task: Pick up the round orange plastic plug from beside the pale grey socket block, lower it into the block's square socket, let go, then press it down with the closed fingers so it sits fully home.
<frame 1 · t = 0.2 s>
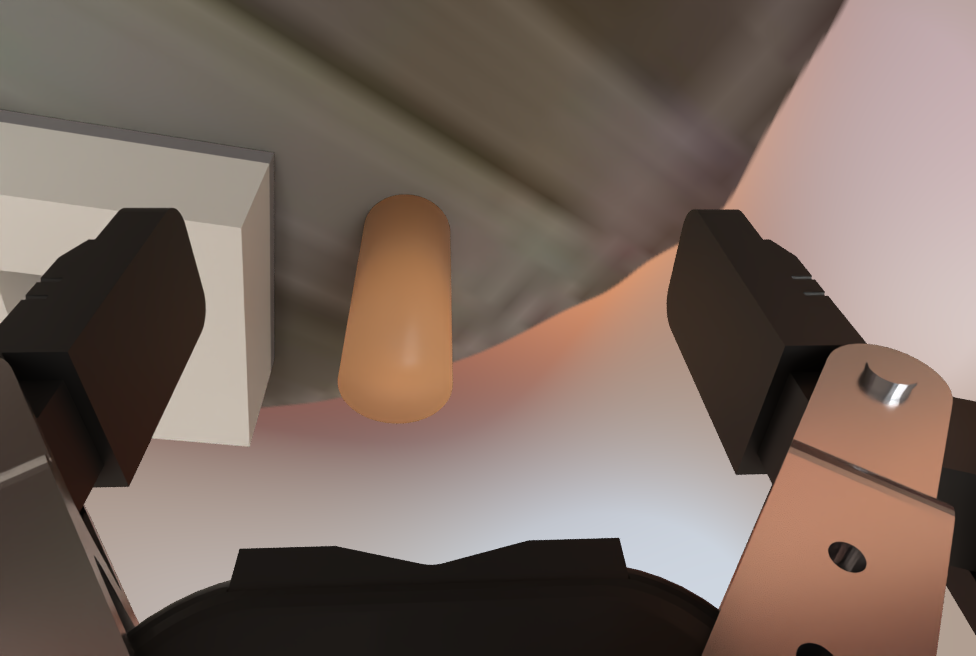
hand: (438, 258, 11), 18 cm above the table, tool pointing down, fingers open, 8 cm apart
socket block: (140, 250, 31), on the table
plug: (407, 232, 31), on the table
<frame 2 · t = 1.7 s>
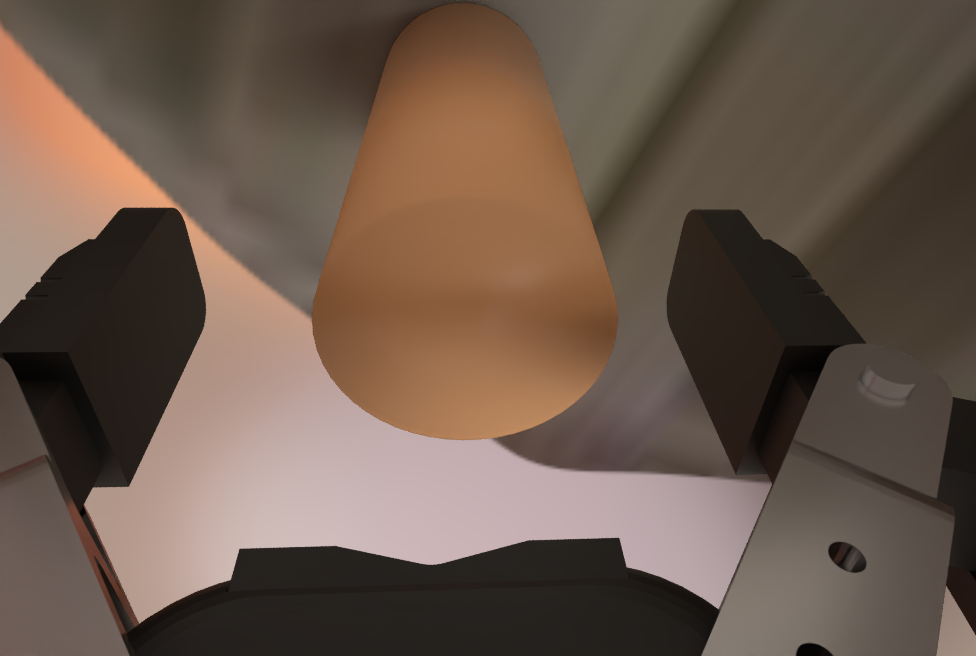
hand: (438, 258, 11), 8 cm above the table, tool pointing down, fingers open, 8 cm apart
plug: (463, 89, 17), on the table
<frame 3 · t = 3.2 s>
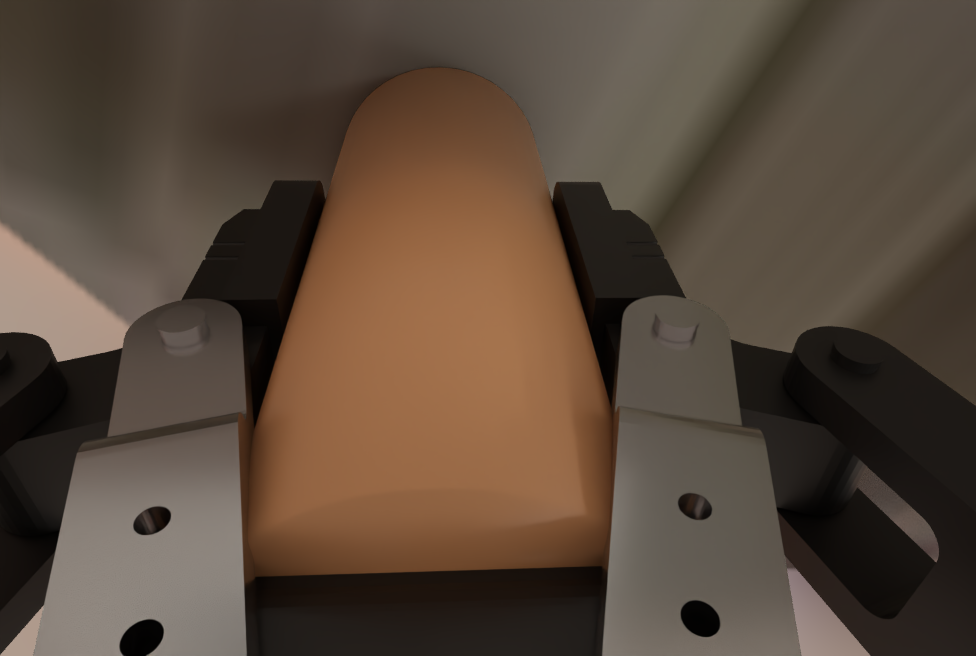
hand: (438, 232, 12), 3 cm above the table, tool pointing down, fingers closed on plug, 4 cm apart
plug: (441, 166, 14), on the table, touching gripper
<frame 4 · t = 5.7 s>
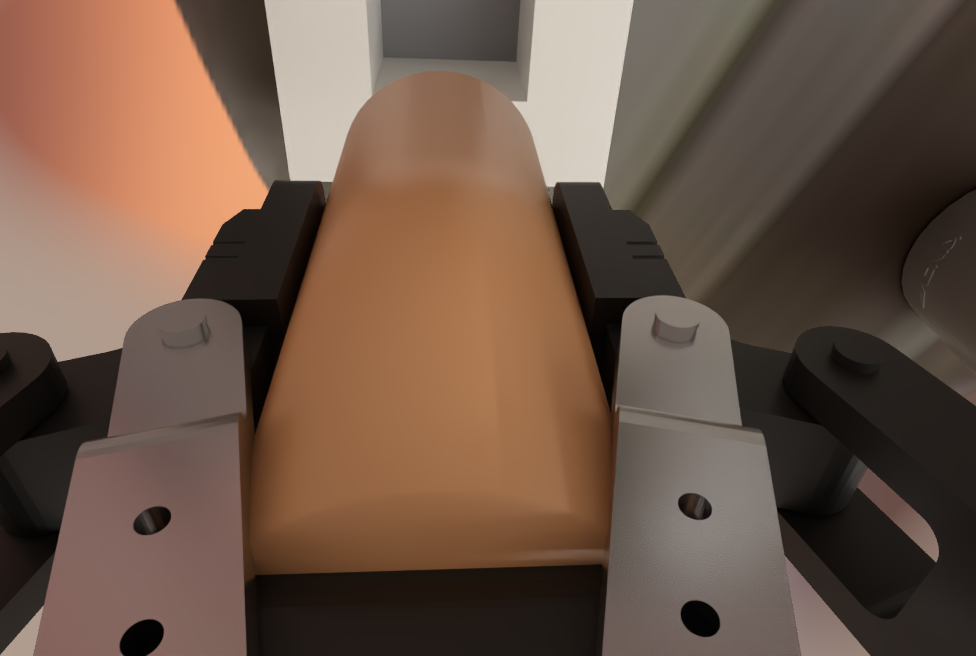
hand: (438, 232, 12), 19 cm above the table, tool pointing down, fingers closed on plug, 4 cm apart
plug: (441, 169, 14), point 17 cm above the table, touching gripper
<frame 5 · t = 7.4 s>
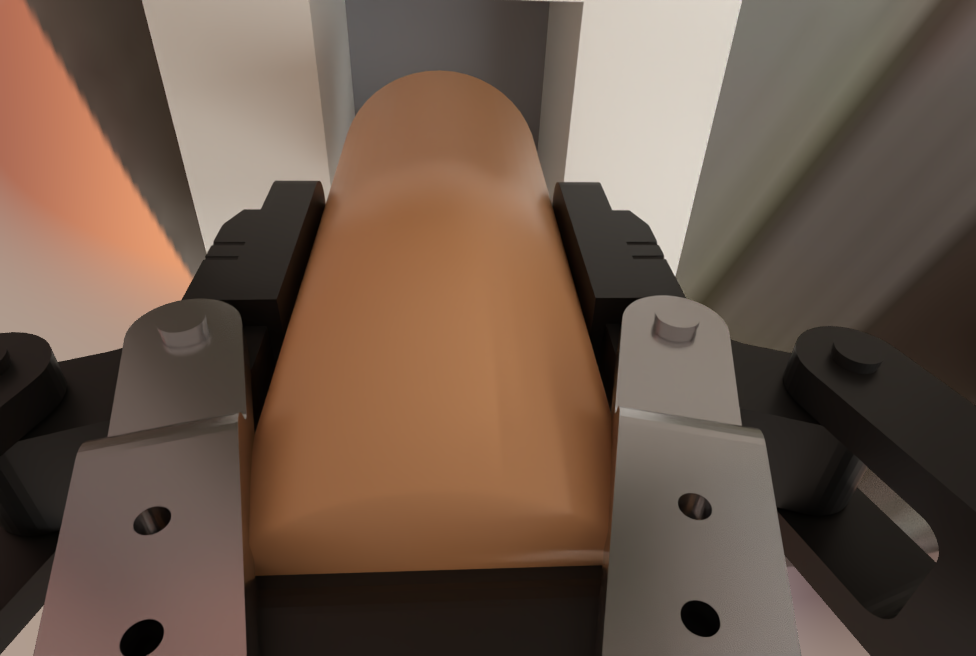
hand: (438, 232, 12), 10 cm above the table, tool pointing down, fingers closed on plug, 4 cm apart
socket block: (448, 57, 20), on the table
plug: (441, 169, 14), point 8 cm above the table, touching gripper
when the fingers open (7 cm above the table, at t = 8.5 s): plug drops 3 cm, resting on socket block.
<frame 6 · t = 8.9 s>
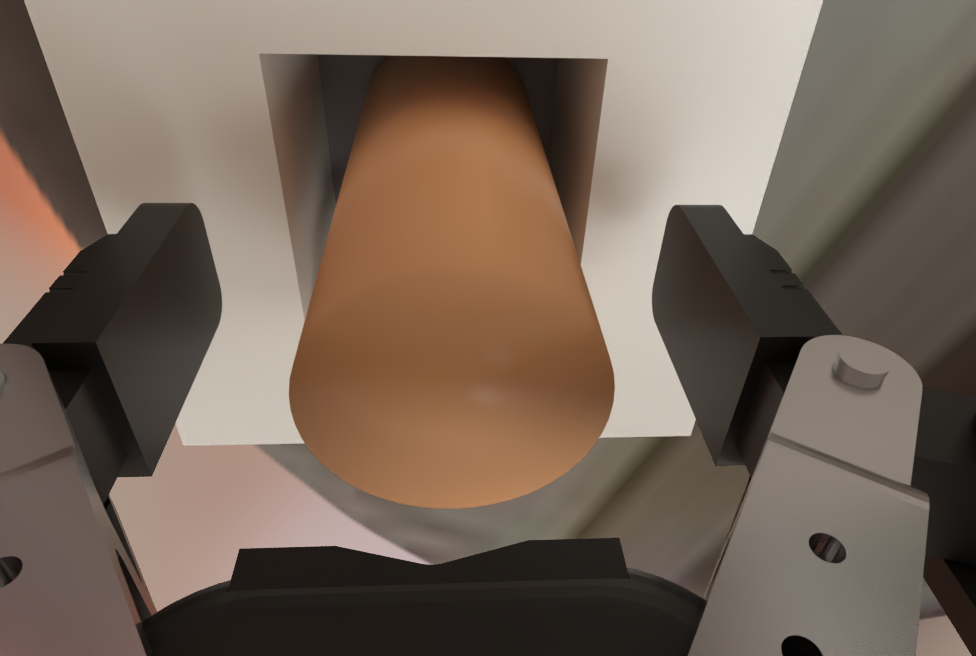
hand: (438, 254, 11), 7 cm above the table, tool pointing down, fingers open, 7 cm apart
socket block: (440, 102, 17), on the table
plug: (447, 119, 16), point 1 cm above the table, touching socket block
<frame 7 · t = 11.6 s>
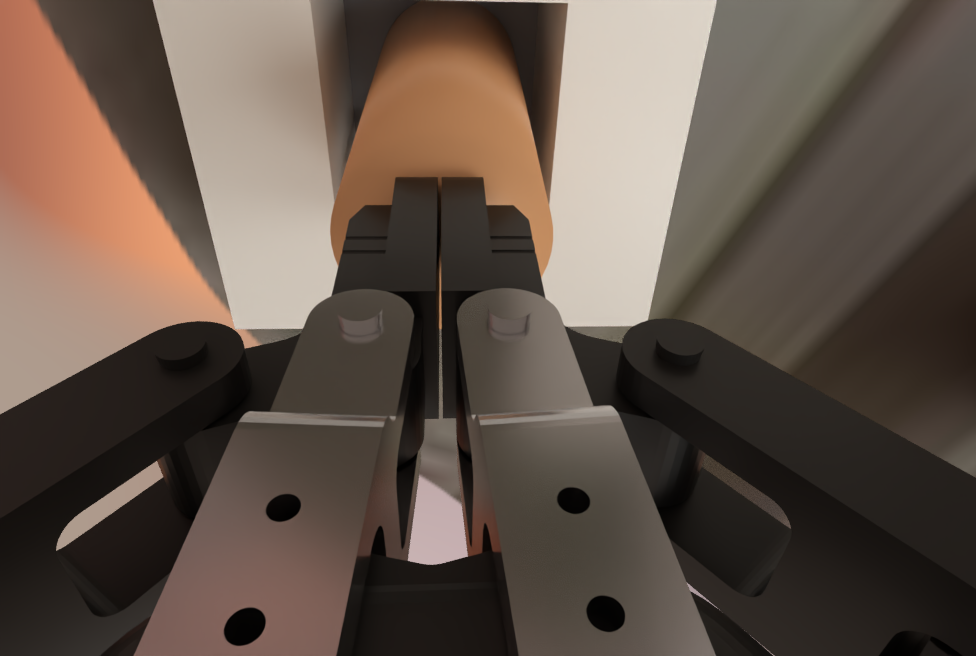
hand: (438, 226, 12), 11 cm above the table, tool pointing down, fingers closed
socket block: (442, 56, 21), on the table
plug: (448, 68, 20), point 1 cm above the table, touching gripper, socket block
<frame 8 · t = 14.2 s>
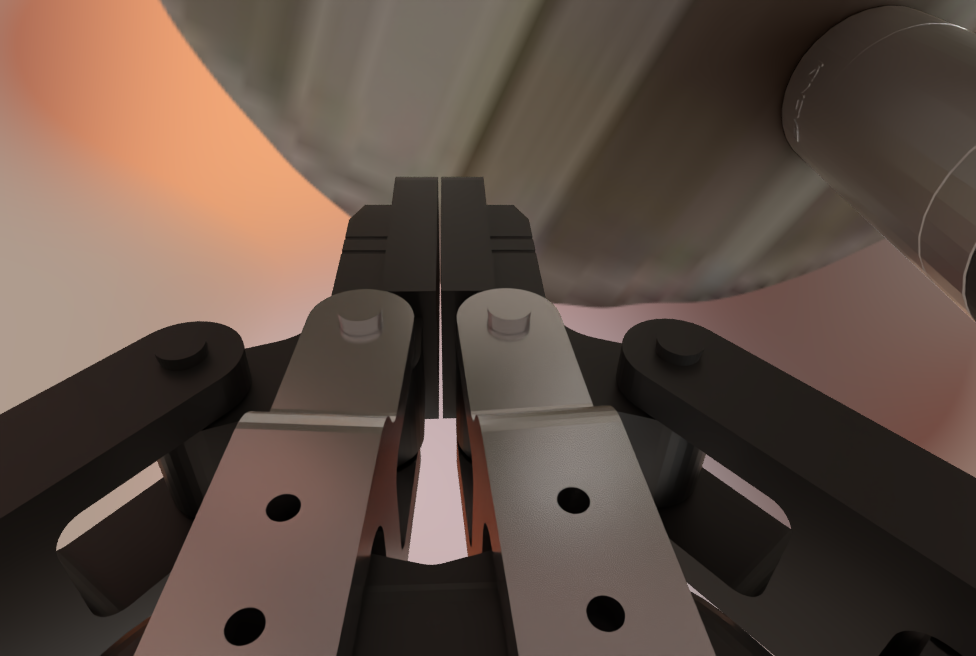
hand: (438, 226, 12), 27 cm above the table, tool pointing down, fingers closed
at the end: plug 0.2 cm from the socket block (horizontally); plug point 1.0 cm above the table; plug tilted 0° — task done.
